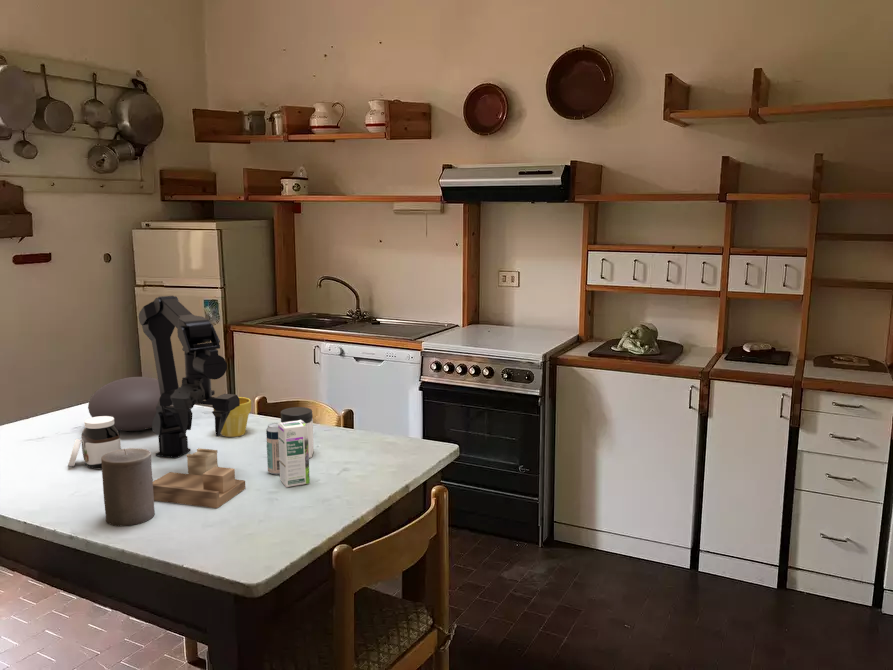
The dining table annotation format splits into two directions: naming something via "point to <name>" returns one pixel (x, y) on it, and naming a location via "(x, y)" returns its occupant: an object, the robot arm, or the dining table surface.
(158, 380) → the robot arm
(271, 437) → the beer can
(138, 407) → the flattened ellipsoid
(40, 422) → the dining table surface
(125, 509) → the pillar candle
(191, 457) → the flanged wooden block
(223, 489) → the box
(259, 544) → the dining table surface
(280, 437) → the syrup box
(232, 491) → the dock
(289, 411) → the jar
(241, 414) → the plant pot
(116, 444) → the spread jar
